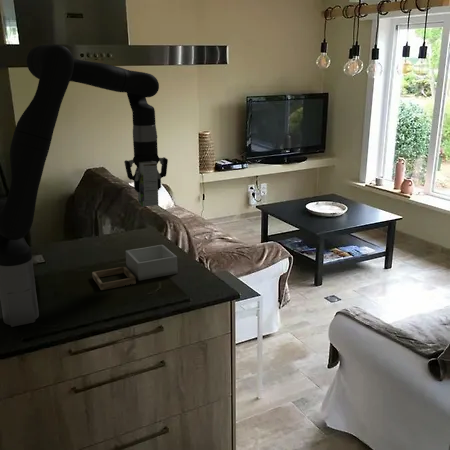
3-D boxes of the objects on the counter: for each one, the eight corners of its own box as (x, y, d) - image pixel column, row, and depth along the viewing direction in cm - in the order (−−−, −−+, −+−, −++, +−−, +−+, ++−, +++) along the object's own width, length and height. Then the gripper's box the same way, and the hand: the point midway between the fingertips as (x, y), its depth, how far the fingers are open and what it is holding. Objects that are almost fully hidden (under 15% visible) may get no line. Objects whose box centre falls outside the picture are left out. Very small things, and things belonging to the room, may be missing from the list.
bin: (177, 273, 175) (177, 256, 173) (138, 280, 169) (137, 263, 167) (163, 260, 187) (162, 244, 185) (126, 266, 181) (125, 250, 179)
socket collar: (135, 283, 167) (135, 277, 166) (101, 290, 162) (100, 284, 162) (125, 271, 176) (125, 266, 176) (92, 277, 172) (92, 272, 171)
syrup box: (137, 202, 173) (135, 159, 168) (155, 201, 175) (153, 158, 170) (141, 207, 168) (139, 162, 163) (159, 205, 169) (157, 161, 165)
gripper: (163, 136, 170) (165, 186, 176) (120, 138, 165) (123, 190, 170) (170, 139, 164) (172, 191, 169) (124, 142, 159) (128, 195, 164)
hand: (147, 190), depth 170 cm, fingers closed on syrup box, 6 cm apart
